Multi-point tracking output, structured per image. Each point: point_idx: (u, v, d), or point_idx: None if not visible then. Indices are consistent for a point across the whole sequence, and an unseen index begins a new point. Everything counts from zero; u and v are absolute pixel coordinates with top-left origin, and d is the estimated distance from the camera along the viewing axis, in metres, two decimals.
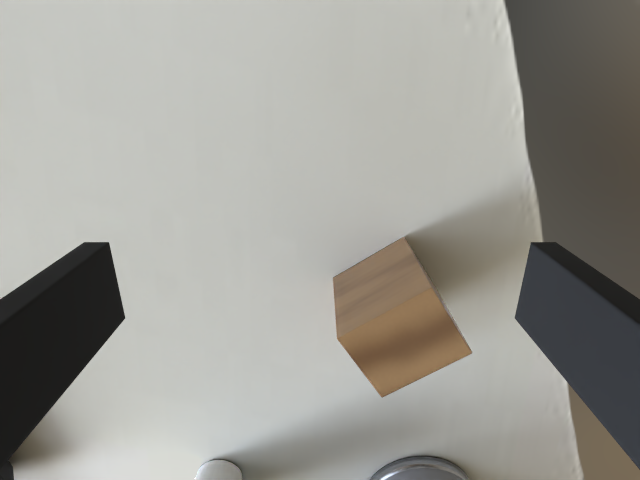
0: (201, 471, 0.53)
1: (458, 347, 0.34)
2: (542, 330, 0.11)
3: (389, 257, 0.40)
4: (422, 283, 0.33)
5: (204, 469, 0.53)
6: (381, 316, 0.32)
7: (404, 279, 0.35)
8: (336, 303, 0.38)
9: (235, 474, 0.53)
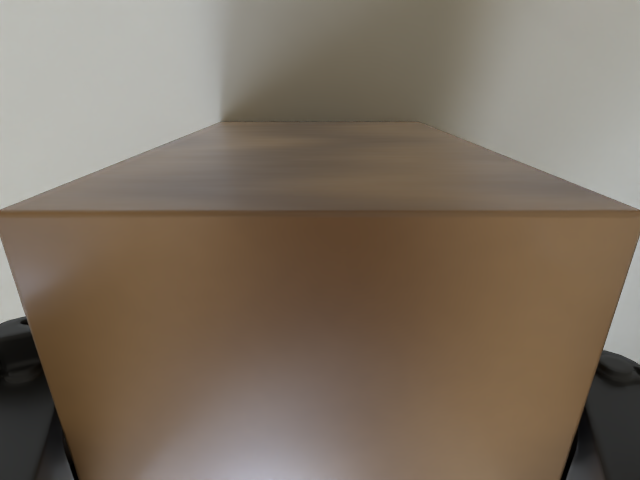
0: None
1: (529, 272, 0.05)
2: None
3: None
4: None
5: None
6: None
7: None
8: None
9: None
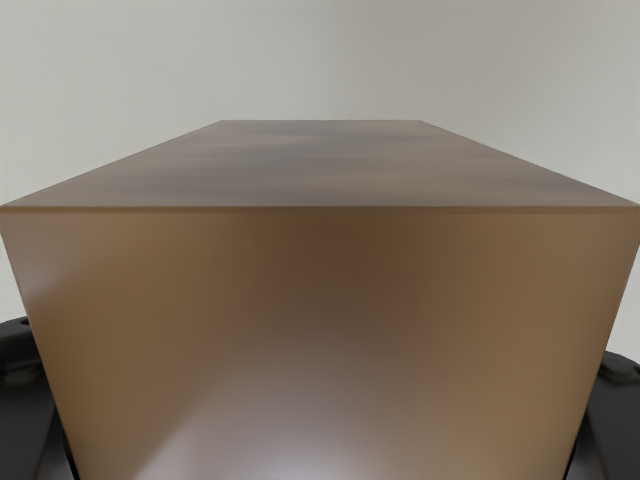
0: None
1: (533, 269, 0.05)
2: None
3: None
4: None
5: None
6: None
7: None
8: None
9: None
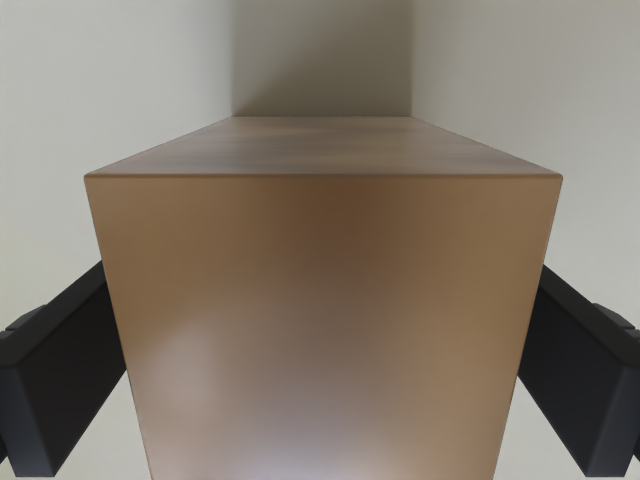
0: None
1: (480, 221, 0.07)
2: None
3: None
4: None
5: None
6: (140, 406, 0.08)
7: None
8: None
9: None
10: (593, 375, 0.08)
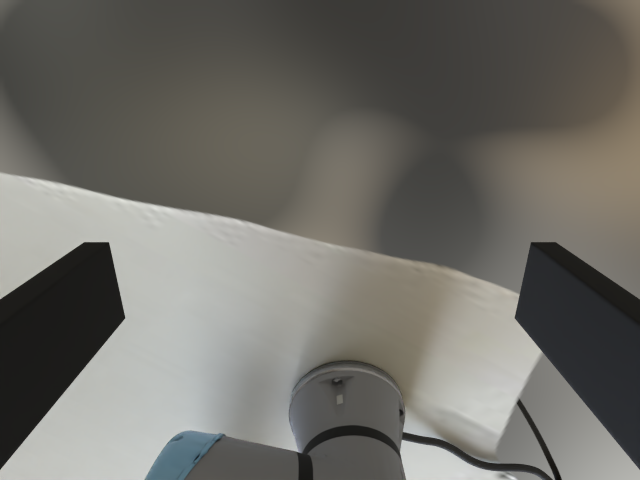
0: None
1: None
2: (542, 330, 0.11)
3: None
4: None
5: None
6: None
7: None
8: None
9: None
10: None
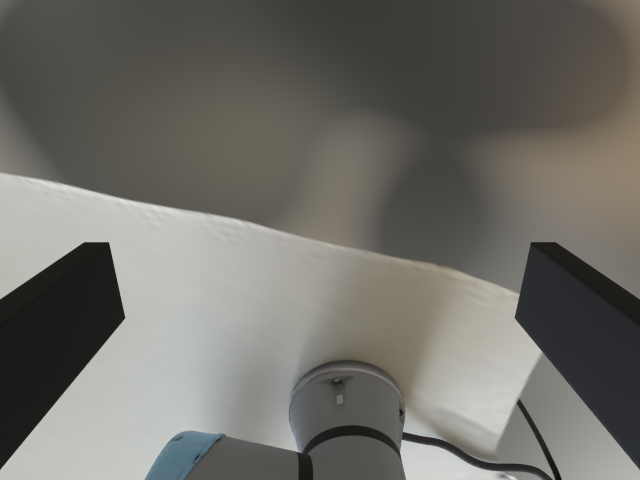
0: None
1: None
2: (542, 330, 0.11)
3: None
4: None
5: None
6: None
7: None
8: None
9: None
10: None
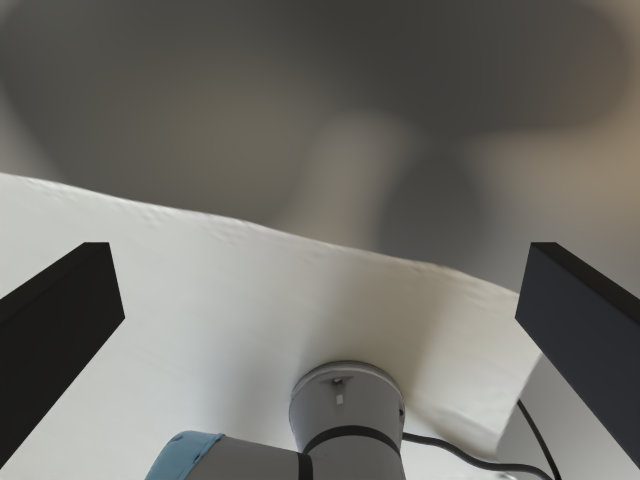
0: None
1: None
2: (542, 330, 0.11)
3: None
4: None
5: None
6: None
7: None
8: None
9: None
10: None
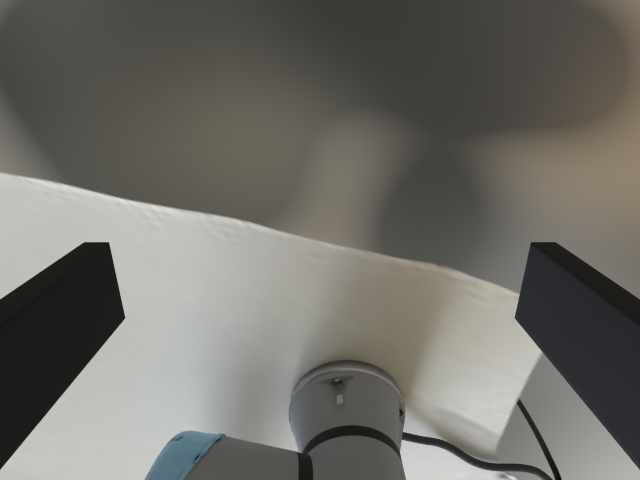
0: None
1: None
2: (542, 330, 0.11)
3: None
4: None
5: None
6: None
7: None
8: None
9: None
10: None
